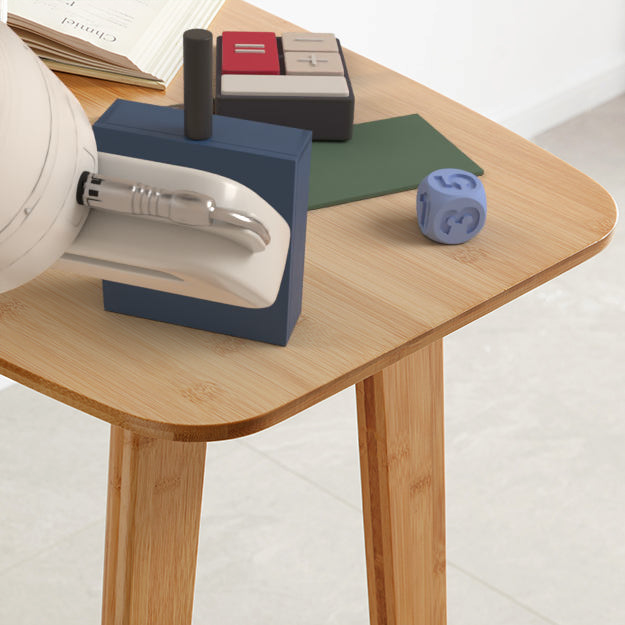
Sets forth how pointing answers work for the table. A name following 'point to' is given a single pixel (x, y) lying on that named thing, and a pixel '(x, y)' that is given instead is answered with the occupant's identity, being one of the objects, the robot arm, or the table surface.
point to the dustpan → (225, 160)
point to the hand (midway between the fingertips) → (91, 252)
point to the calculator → (285, 81)
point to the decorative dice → (451, 206)
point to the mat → (380, 160)
